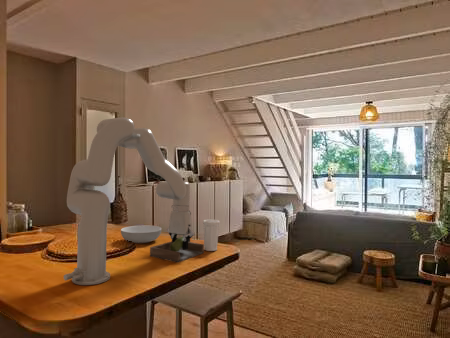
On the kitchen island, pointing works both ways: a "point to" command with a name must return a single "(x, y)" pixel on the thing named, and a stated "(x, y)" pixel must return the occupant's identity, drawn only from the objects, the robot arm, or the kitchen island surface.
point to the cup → (211, 234)
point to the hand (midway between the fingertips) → (179, 247)
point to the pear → (177, 244)
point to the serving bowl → (141, 233)
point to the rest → (176, 252)
